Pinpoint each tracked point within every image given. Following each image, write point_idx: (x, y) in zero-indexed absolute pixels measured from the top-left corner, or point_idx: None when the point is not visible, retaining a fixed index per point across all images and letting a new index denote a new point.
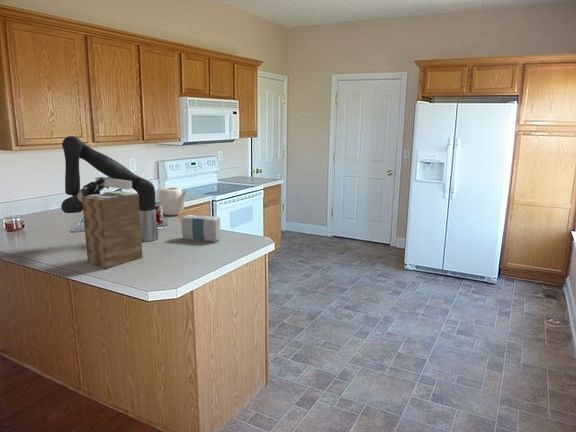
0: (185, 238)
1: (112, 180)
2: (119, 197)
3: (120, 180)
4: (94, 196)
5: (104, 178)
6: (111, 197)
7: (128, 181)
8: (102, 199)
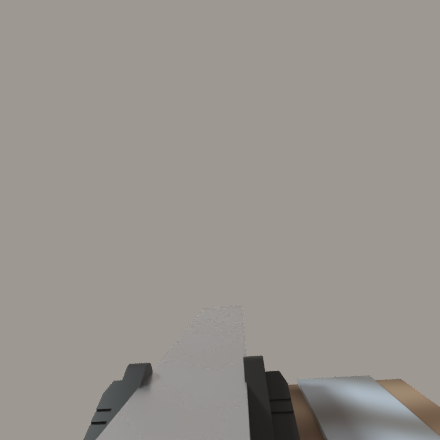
0: None
1: (243, 331)
2: (289, 386)
3: (225, 316)
4: (436, 434)
5: (221, 368)
6: (338, 377)
7: (224, 307)
8: (393, 383)
